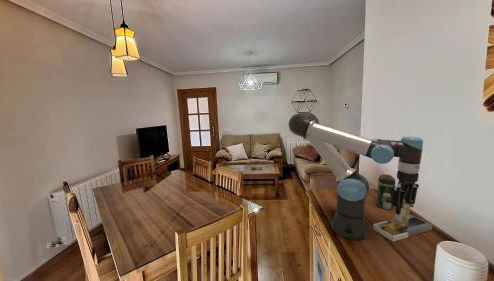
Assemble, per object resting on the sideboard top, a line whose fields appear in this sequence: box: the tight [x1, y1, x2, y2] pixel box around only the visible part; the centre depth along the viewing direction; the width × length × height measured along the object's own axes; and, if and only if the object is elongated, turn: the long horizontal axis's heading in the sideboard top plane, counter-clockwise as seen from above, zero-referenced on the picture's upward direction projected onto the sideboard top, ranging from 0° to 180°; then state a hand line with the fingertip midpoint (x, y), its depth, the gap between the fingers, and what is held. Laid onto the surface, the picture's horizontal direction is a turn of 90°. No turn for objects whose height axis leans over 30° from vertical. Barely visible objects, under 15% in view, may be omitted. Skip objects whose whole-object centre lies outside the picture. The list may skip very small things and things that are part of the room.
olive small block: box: [390, 222, 403, 235], centre depth 93 cm, size 3×4×3 cm
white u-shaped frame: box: [371, 220, 409, 242], centre depth 92 cm, size 9×10×2 cm
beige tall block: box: [394, 201, 411, 229], centre depth 94 cm, size 4×4×13 cm
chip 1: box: [384, 224, 398, 236], centre depth 92 cm, size 3×4×3 cm
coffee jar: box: [376, 173, 396, 210], centre depth 116 cm, size 10×8×19 cm
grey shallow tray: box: [387, 214, 433, 237], centre depth 96 cm, size 16×9×3 cm, turn 107°
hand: (401, 219), depth 94 cm, fingers closed on beige tall block, 4 cm apart
